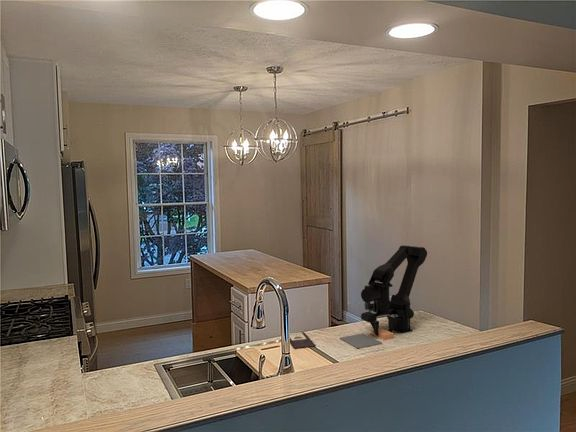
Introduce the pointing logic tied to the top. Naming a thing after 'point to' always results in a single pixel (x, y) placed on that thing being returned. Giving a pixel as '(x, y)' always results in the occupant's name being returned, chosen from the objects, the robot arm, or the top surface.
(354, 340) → the mat
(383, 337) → the tile
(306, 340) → the chocolate bar
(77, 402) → the top surface
